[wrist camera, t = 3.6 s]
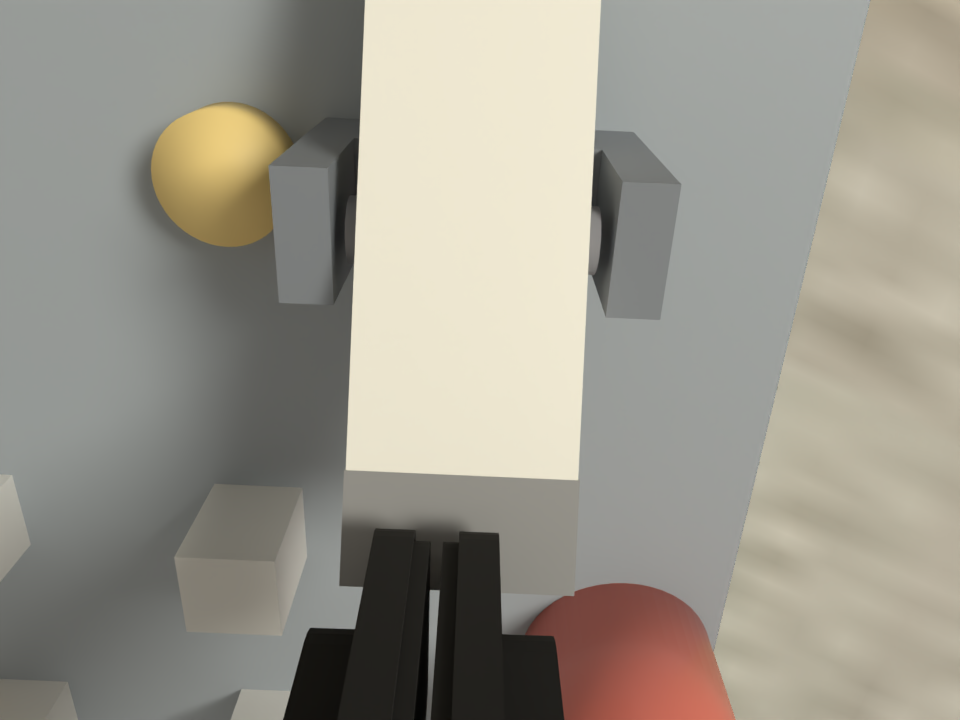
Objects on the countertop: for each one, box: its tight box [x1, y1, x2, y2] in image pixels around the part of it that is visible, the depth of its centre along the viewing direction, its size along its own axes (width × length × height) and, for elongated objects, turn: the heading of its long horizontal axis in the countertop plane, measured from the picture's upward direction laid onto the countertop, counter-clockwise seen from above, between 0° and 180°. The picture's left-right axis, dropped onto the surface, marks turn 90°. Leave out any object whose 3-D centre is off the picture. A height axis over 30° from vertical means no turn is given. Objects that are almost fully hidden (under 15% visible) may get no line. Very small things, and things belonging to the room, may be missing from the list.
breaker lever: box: [339, 0, 601, 596], centre depth 11 cm, size 4×10×2 cm, turn 178°
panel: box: [0, 0, 870, 720], centre depth 16 cm, size 19×22×6 cm
